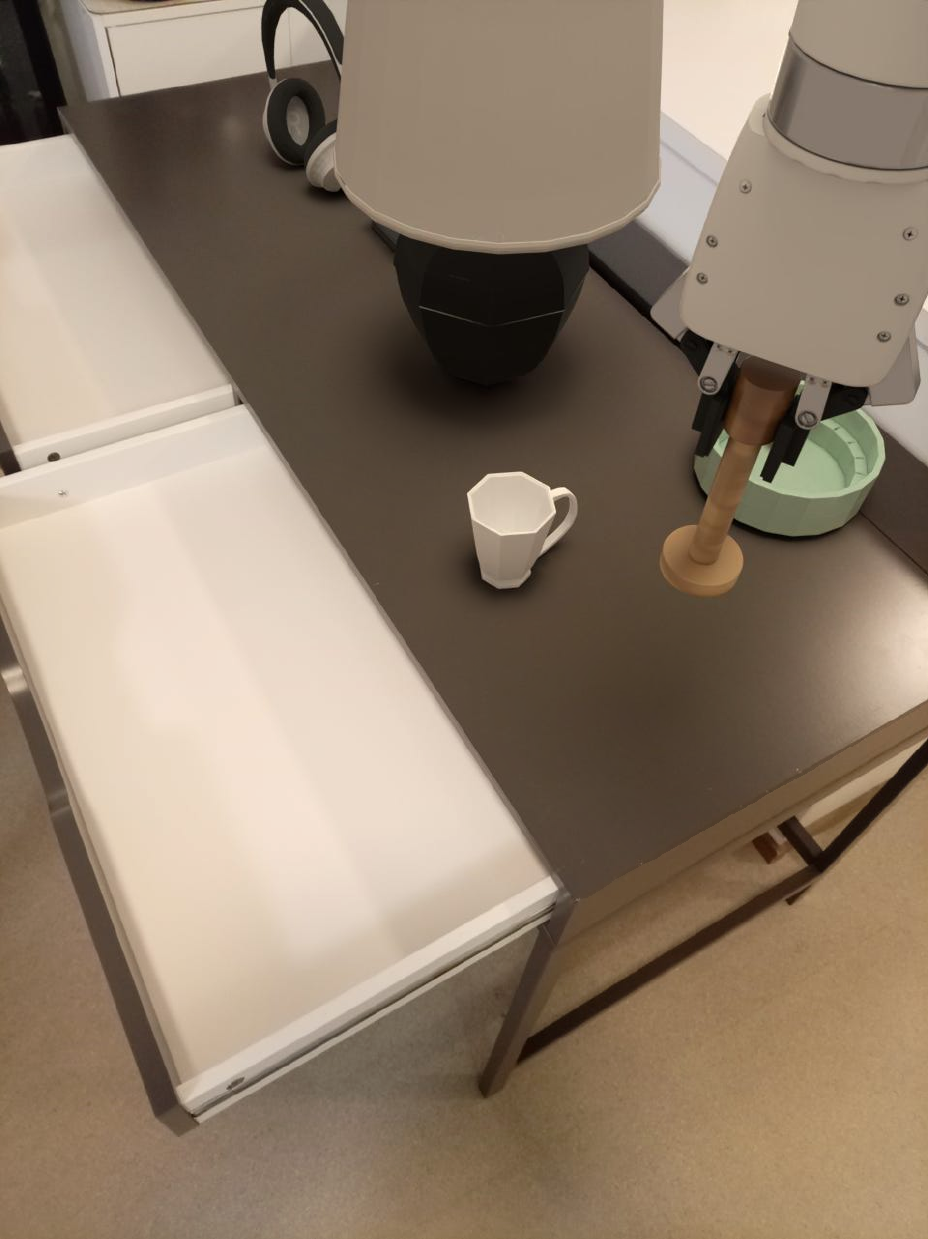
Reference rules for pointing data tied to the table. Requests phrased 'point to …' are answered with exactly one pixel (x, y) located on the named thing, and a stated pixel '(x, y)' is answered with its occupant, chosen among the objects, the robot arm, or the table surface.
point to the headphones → (301, 97)
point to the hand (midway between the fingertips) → (741, 451)
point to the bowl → (809, 478)
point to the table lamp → (498, 158)
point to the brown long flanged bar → (730, 481)
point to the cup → (514, 524)
